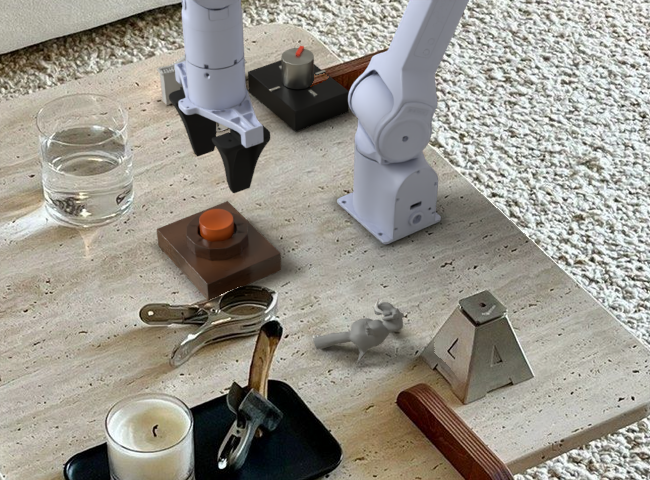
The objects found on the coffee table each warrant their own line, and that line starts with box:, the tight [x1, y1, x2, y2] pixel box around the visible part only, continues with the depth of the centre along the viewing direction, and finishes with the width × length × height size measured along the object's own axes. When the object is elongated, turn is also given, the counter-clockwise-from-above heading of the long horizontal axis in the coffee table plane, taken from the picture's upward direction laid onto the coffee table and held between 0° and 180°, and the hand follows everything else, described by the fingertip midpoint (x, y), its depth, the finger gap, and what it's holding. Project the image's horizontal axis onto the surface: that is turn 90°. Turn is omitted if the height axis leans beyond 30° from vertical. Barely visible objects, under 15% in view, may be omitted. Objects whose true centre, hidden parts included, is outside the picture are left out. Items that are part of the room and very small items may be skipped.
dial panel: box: [247, 59, 350, 133], centre depth 149 cm, size 11×8×3 cm
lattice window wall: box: [156, 54, 248, 106], centre depth 150 cm, size 12×2×6 cm, turn 122°
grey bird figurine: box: [312, 298, 405, 366], centre depth 116 cm, size 10×6×9 cm
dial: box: [280, 45, 315, 89], centre depth 147 cm, size 4×4×4 cm
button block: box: [156, 200, 282, 301], centre depth 127 cm, size 11×9×4 cm
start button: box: [199, 209, 234, 242], centre depth 126 cm, size 4×4×2 cm
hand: (221, 170), depth 124 cm, fingers open, 7 cm apart
